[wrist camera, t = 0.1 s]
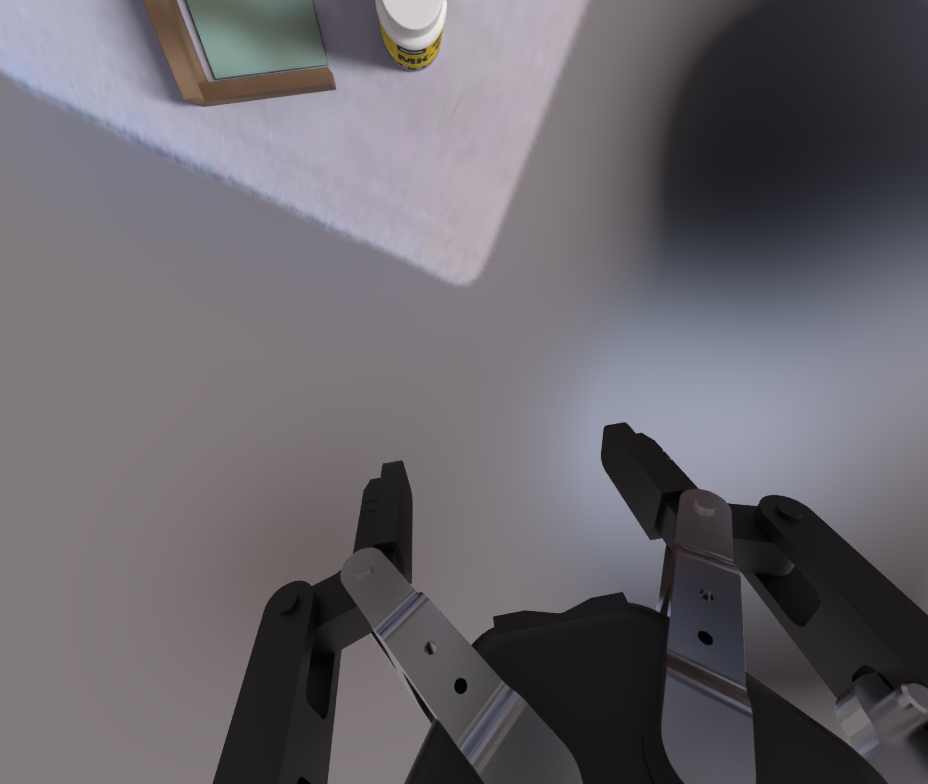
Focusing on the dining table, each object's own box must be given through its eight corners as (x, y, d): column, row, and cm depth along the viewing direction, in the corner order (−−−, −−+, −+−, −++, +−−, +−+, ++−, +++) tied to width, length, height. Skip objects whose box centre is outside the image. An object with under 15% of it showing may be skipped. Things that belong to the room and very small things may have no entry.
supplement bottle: (397, 82, 30) (390, 51, 23) (371, 7, 28) (355, -55, 20) (450, 59, 30) (460, 19, 22) (428, -20, 27) (432, -92, 20)
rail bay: (135, -67, 24) (102, -97, 22) (294, -86, 25) (280, -117, 22) (204, 106, 29) (184, 99, 27) (336, 89, 30) (328, 80, 27)
